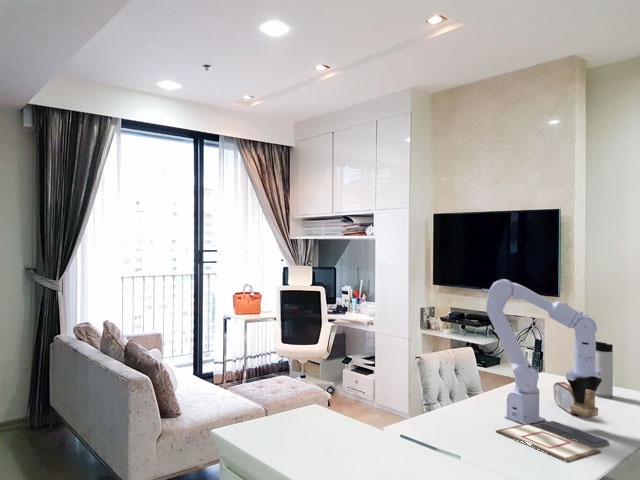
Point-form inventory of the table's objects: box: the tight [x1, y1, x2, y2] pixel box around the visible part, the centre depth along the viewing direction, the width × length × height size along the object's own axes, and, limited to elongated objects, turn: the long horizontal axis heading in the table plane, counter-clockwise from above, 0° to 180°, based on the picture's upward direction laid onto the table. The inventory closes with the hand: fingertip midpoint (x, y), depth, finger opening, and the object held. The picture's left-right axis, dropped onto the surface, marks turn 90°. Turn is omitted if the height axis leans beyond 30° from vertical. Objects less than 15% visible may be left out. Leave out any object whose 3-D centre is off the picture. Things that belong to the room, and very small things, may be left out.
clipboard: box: [495, 424, 602, 462], centre depth 131 cm, size 14×22×1 cm, turn 28°
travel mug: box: [595, 340, 614, 399], centre depth 176 cm, size 6×7×20 cm
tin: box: [553, 381, 574, 415], centre depth 159 cm, size 15×3×8 cm, turn 179°
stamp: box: [571, 389, 599, 419], centre depth 142 cm, size 5×5×7 cm
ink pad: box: [539, 420, 610, 449], centre depth 136 cm, size 6×17×1 cm, turn 28°
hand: (584, 402), depth 142 cm, fingers closed on stamp, 4 cm apart
